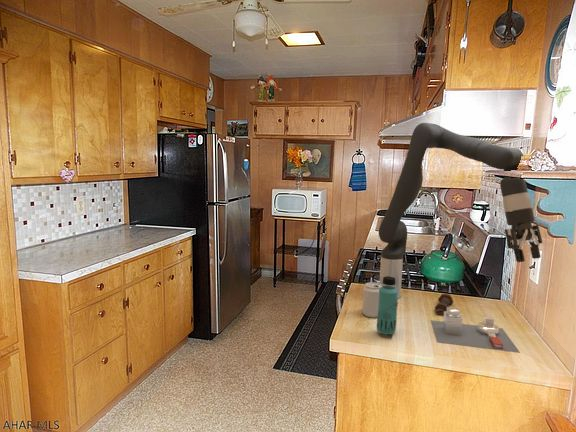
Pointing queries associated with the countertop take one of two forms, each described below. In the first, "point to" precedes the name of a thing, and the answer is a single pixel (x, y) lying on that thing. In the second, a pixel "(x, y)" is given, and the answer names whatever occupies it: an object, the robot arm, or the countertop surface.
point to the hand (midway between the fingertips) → (528, 260)
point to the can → (371, 299)
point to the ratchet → (490, 332)
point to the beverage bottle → (387, 307)
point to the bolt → (443, 304)
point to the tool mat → (471, 337)
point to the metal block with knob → (452, 321)
